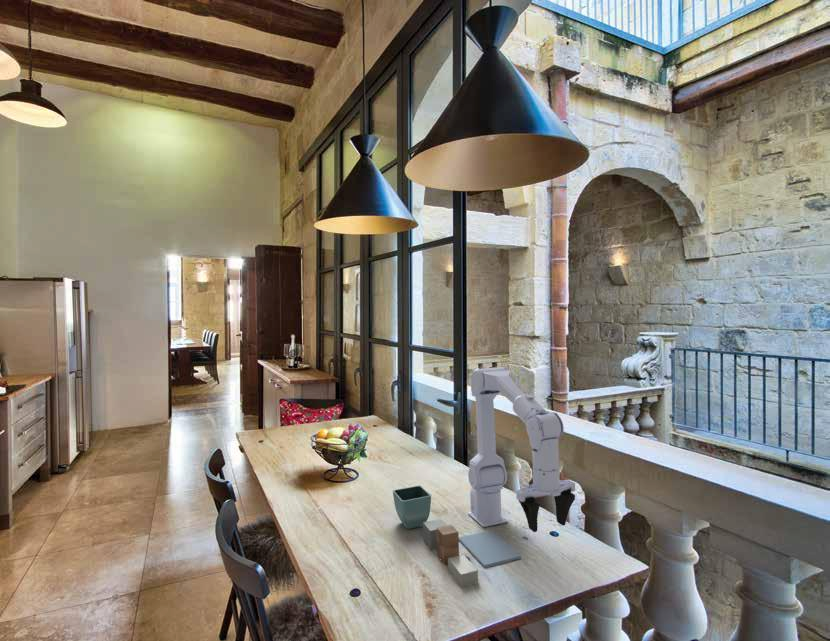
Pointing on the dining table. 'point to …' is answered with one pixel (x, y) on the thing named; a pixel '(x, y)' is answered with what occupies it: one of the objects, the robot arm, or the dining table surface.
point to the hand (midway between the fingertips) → (547, 526)
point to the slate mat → (489, 548)
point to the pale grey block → (463, 570)
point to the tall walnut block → (447, 543)
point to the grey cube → (431, 532)
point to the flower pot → (412, 505)
